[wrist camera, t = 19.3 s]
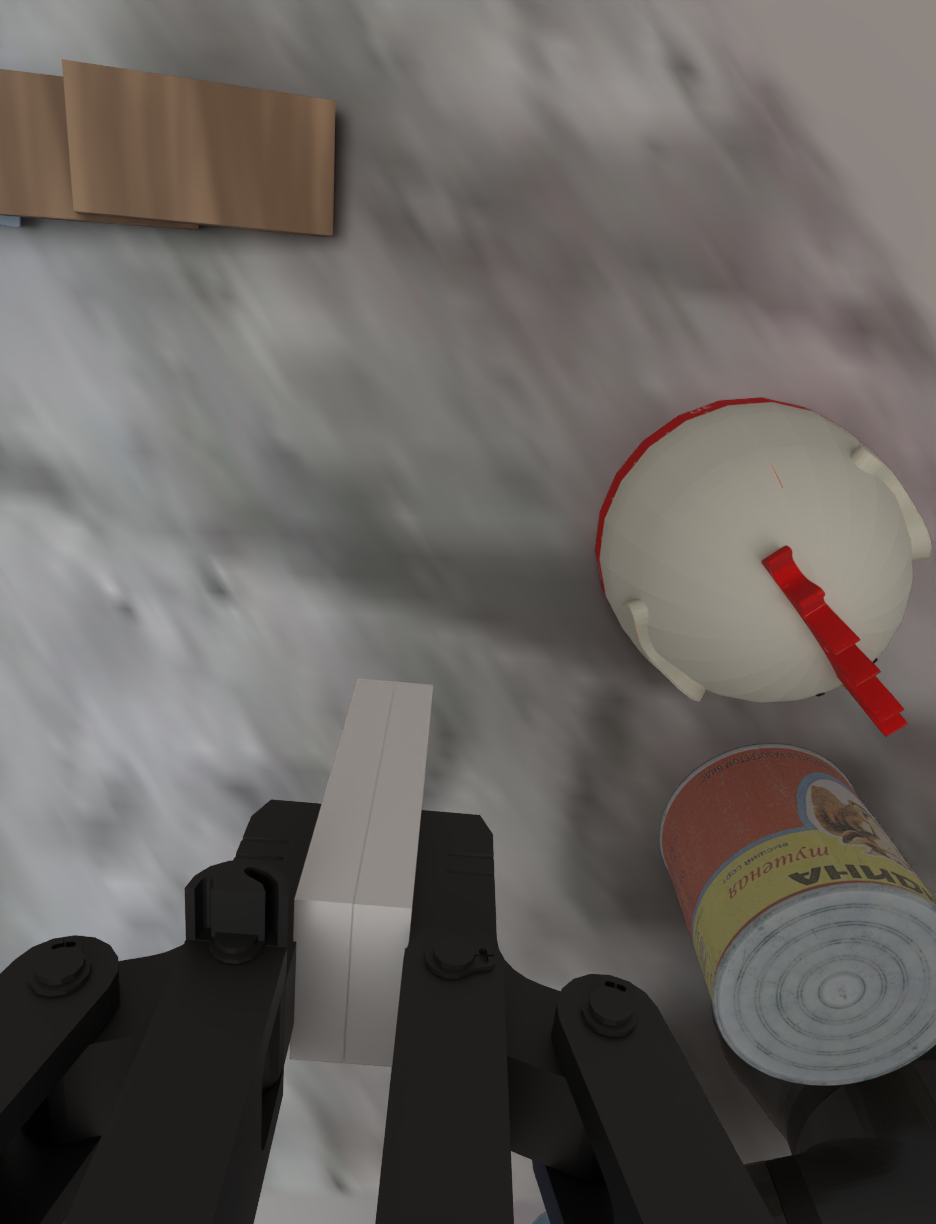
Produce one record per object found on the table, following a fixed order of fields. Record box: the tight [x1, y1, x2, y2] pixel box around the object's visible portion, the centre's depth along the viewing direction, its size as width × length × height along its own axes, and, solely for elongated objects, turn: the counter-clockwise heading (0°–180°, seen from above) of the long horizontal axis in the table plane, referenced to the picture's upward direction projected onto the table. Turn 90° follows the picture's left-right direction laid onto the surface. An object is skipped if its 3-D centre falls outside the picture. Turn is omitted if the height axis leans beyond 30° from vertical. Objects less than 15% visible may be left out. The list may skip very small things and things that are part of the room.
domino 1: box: [0, 69, 199, 230], centre depth 35 cm, size 2×5×10 cm
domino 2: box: [62, 60, 335, 237], centre depth 35 cm, size 2×5×10 cm
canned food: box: [659, 744, 936, 1086], centre depth 44 cm, size 11×11×12 cm
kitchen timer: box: [595, 398, 931, 737], centre depth 36 cm, size 14×14×15 cm
